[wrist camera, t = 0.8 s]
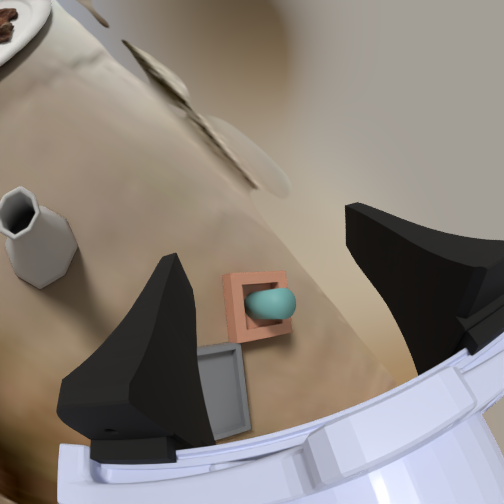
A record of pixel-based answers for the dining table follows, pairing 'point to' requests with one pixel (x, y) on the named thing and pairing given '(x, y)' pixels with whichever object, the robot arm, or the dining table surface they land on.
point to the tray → (224, 388)
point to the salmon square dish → (237, 319)
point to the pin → (270, 304)
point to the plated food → (20, 24)
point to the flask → (35, 238)
